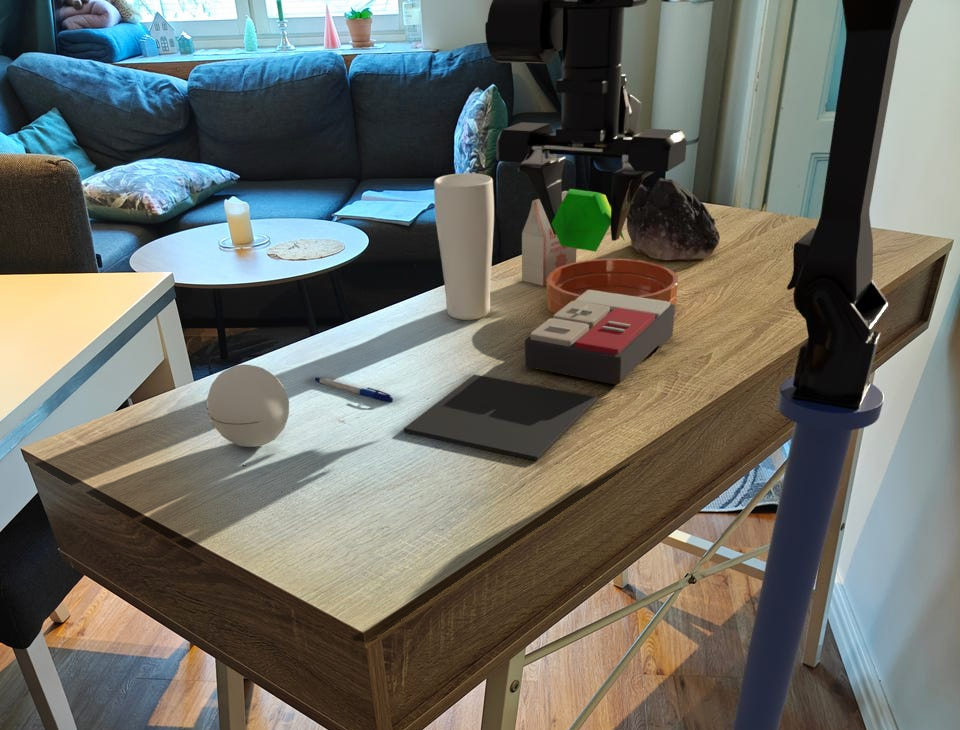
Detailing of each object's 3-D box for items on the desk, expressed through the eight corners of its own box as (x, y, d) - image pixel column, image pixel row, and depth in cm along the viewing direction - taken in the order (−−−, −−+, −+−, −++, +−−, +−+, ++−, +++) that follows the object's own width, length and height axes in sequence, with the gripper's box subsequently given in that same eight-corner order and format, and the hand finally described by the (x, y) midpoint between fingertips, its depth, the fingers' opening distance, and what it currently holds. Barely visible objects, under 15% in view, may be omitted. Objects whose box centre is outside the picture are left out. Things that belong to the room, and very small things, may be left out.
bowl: (691, 295, 112) (695, 266, 110) (648, 337, 101) (651, 306, 99) (577, 281, 118) (578, 253, 116) (525, 318, 107) (525, 289, 105)
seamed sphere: (266, 418, 88) (252, 345, 83) (310, 441, 84) (298, 365, 79) (176, 453, 83) (155, 377, 78) (218, 480, 78) (199, 401, 74)
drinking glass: (433, 321, 108) (424, 185, 98) (451, 303, 113) (444, 171, 103) (487, 325, 106) (483, 187, 97) (502, 306, 111) (500, 173, 102)
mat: (597, 400, 89) (597, 396, 88) (537, 461, 79) (537, 457, 79) (474, 378, 94) (473, 374, 94) (403, 432, 85) (403, 428, 84)
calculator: (522, 333, 93) (586, 283, 102) (523, 372, 95) (585, 320, 105) (619, 350, 88) (677, 297, 97) (617, 391, 91) (673, 335, 100)
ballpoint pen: (395, 401, 91) (394, 392, 90) (390, 404, 90) (389, 395, 89) (317, 381, 95) (316, 372, 95) (312, 384, 95) (311, 375, 94)
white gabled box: (522, 280, 119) (521, 198, 113) (554, 268, 123) (556, 188, 116) (543, 285, 117) (544, 203, 111) (575, 273, 121) (578, 192, 114)
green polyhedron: (568, 180, 89) (614, 161, 94) (529, 219, 94) (574, 199, 99) (606, 243, 90) (650, 221, 95) (565, 278, 95) (609, 255, 100)
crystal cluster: (734, 248, 129) (741, 171, 124) (700, 265, 120) (706, 182, 115) (648, 245, 136) (651, 171, 130) (609, 260, 126) (611, 182, 121)
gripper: (712, 55, 87) (694, 225, 97) (541, 53, 95) (541, 211, 105) (673, 70, 80) (658, 253, 90) (491, 67, 88) (496, 235, 97)
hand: (586, 236), depth 96 cm, fingers closed on green polyhedron, 6 cm apart
